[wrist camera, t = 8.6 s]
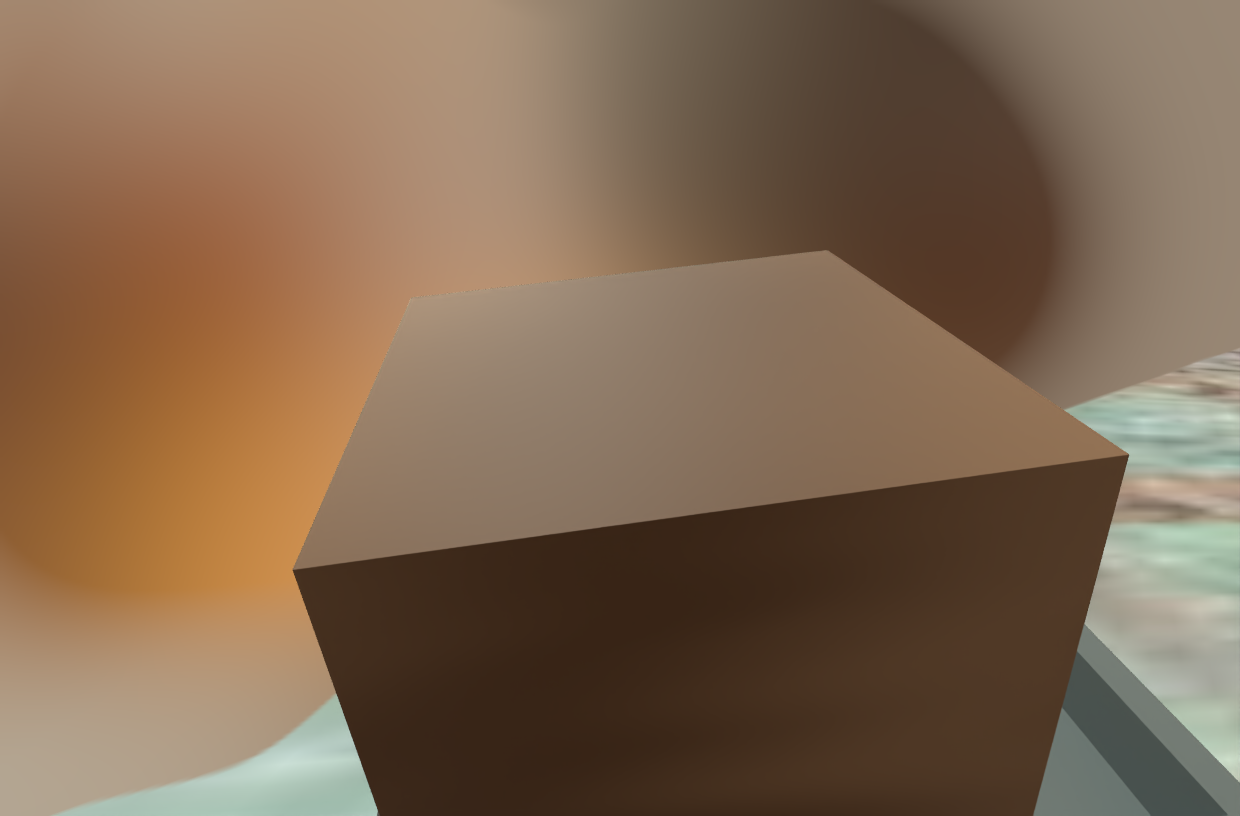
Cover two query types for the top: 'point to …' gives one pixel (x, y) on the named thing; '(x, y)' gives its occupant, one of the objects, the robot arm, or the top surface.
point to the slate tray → (1126, 750)
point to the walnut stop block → (704, 554)
